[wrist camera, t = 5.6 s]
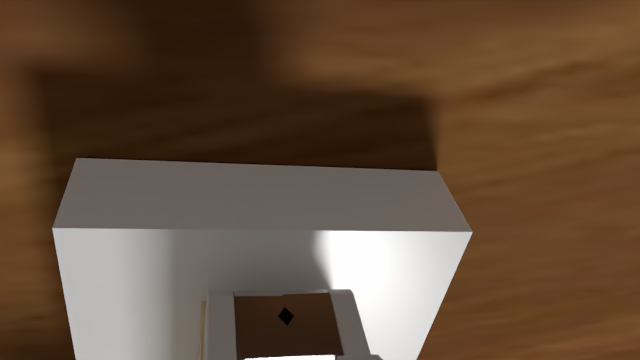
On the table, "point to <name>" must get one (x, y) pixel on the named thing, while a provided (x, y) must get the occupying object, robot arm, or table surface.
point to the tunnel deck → (248, 248)
